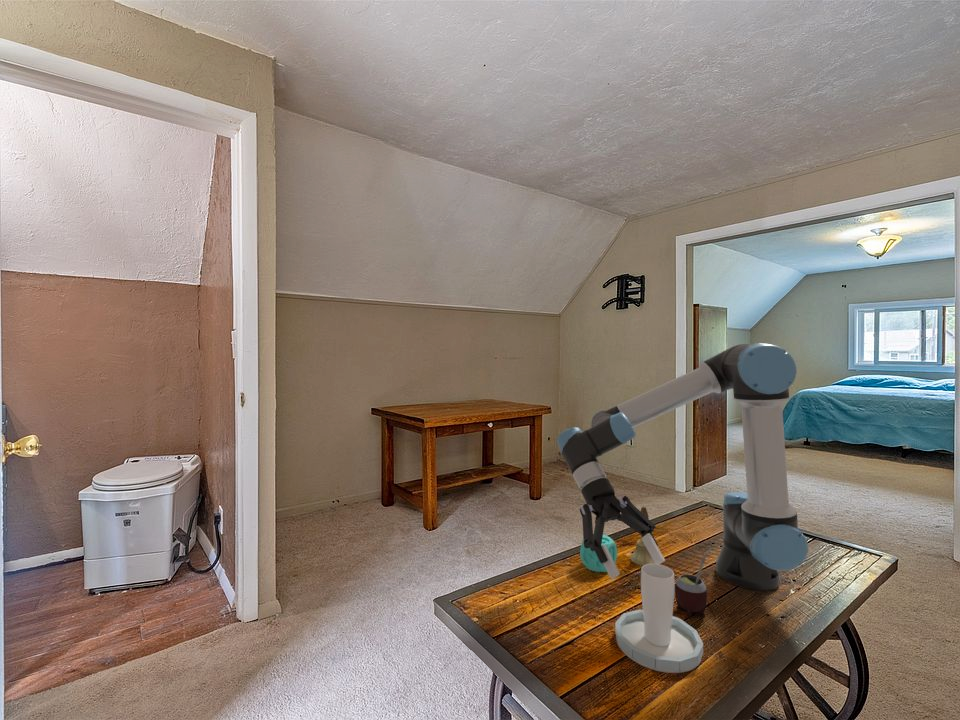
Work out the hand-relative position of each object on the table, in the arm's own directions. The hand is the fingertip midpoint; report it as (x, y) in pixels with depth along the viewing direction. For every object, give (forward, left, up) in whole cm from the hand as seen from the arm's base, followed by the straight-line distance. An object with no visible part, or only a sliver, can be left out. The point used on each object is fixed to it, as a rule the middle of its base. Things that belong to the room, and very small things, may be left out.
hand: (638, 569), depth 100 cm
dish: (-3, +4, -14) cm, 15 cm away
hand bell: (-8, -36, -15) cm, 40 cm away
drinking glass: (-3, +4, -13) cm, 14 cm away
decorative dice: (+6, -30, -15) cm, 34 cm away
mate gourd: (-14, -10, -14) cm, 23 cm away
